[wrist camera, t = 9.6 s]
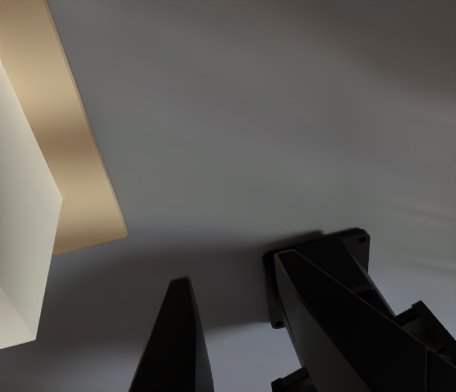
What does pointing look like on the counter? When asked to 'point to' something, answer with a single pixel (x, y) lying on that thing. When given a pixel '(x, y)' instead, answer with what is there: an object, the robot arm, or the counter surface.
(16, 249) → the cream box
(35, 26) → the mat
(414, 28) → the counter surface
